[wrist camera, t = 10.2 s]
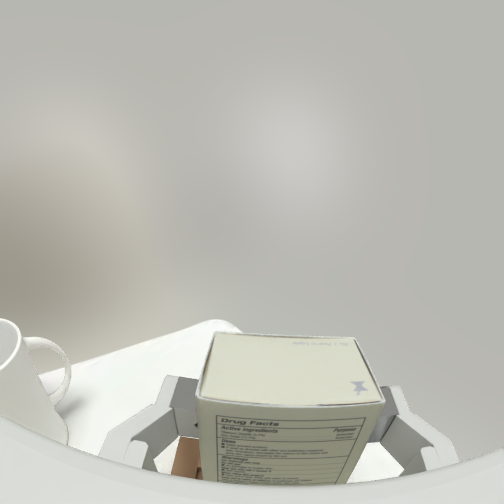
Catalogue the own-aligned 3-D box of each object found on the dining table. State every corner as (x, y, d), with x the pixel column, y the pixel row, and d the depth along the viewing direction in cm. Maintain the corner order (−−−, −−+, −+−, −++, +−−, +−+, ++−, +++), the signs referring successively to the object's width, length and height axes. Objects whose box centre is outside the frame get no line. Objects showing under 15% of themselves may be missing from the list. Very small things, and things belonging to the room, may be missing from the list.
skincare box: (309, 485, 16) (361, 334, 13) (314, 539, 12) (394, 401, 8) (212, 480, 16) (213, 324, 13) (203, 535, 12) (193, 395, 9)
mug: (74, 386, 29) (43, 295, 24) (109, 438, 24) (73, 344, 19) (-9, 421, 20) (-59, 332, 16) (14, 482, 15) (-58, 396, 11)
